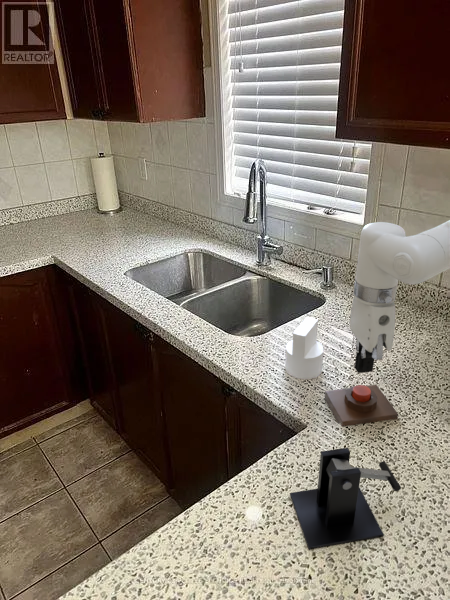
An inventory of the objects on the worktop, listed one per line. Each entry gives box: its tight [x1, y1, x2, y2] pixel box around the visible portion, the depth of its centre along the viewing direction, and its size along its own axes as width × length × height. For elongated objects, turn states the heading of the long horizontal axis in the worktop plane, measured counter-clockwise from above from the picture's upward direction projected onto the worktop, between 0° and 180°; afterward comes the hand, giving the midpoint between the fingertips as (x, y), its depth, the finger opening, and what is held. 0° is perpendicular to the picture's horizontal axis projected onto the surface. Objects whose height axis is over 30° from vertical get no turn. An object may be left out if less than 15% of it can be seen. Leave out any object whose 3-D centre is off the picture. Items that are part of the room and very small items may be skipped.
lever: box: [326, 458, 402, 492], centre depth 69 cm, size 11×5×2 cm, turn 100°
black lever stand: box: [289, 447, 385, 551], centre depth 70 cm, size 12×10×13 cm
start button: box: [352, 384, 371, 402], centre depth 94 cm, size 4×4×2 cm
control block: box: [324, 384, 399, 427], centre depth 95 cm, size 12×10×4 cm
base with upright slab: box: [284, 316, 325, 380], centre depth 107 cm, size 9×9×12 cm
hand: (363, 369), depth 91 cm, fingers closed
